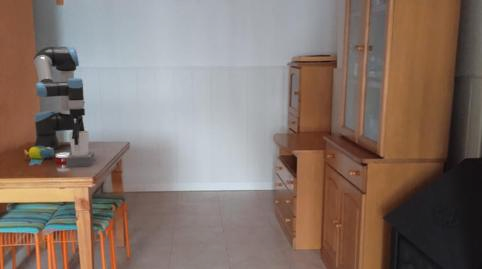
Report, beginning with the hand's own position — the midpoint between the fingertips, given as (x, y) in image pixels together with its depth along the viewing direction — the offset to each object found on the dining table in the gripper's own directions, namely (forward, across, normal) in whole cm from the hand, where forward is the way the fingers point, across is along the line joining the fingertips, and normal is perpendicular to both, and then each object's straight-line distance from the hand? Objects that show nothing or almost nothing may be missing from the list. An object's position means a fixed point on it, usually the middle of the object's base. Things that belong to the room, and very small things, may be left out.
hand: (79, 148), depth 237 cm
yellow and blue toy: (+9, +18, +26) cm, 32 cm away
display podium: (+9, 0, 0) cm, 9 cm away
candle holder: (+4, 0, 0) cm, 4 cm away
